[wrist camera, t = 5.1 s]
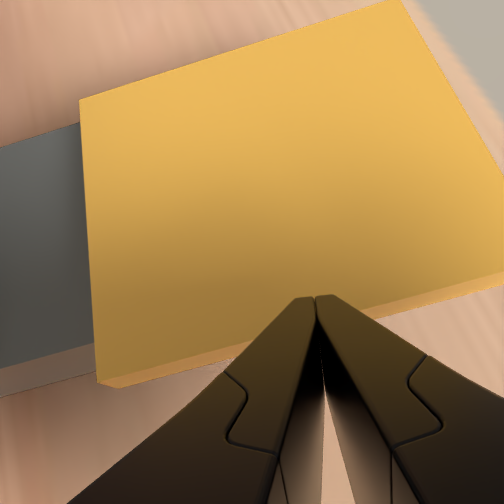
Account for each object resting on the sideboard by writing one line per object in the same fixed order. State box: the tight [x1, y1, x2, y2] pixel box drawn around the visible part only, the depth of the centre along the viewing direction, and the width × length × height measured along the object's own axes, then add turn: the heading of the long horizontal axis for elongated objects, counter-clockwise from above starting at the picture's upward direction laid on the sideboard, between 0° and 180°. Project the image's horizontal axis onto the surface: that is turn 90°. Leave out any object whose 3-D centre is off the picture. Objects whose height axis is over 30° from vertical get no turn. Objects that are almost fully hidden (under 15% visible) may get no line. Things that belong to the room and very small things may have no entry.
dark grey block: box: [0, 122, 96, 397], centre depth 20 cm, size 9×30×8 cm, turn 104°
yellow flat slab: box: [79, 0, 504, 389], centre depth 14 cm, size 10×12×1 cm
